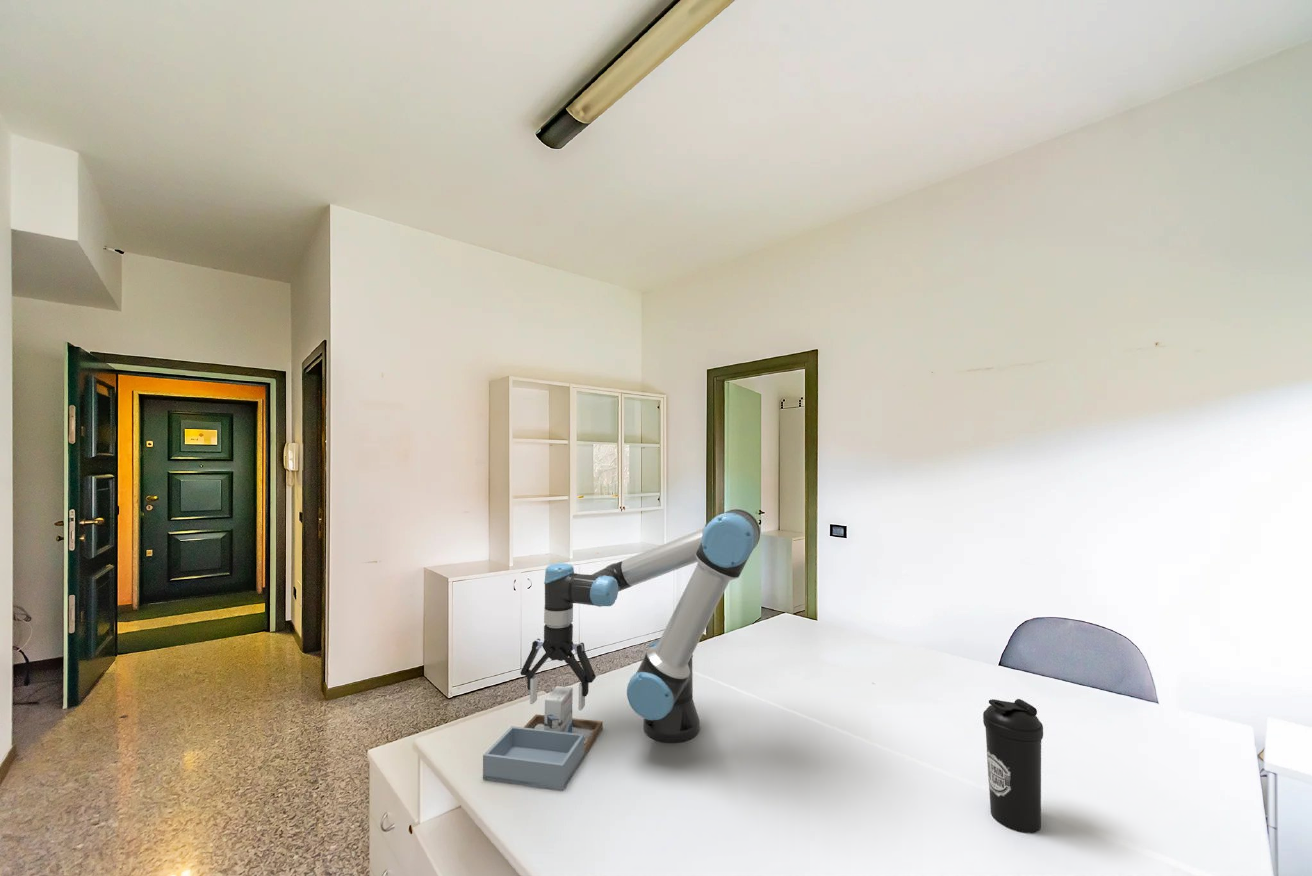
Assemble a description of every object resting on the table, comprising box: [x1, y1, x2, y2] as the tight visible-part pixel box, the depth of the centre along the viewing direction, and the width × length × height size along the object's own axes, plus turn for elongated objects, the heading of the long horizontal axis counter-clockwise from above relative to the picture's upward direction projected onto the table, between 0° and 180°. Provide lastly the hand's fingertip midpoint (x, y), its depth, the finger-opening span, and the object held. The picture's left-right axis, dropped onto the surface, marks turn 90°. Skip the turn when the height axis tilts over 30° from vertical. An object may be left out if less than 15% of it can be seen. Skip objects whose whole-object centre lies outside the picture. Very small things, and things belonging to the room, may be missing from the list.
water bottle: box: [982, 698, 1044, 834], centre depth 109 cm, size 10×10×23 cm
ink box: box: [543, 685, 574, 733], centre depth 142 cm, size 9×5×12 cm, turn 168°
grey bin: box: [482, 725, 586, 792], centre depth 128 cm, size 20×14×6 cm
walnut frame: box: [523, 713, 604, 757], centre depth 142 cm, size 20×14×2 cm
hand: (557, 705), depth 142 cm, fingers open, 13 cm apart
